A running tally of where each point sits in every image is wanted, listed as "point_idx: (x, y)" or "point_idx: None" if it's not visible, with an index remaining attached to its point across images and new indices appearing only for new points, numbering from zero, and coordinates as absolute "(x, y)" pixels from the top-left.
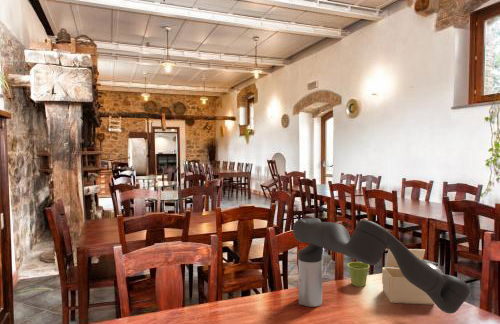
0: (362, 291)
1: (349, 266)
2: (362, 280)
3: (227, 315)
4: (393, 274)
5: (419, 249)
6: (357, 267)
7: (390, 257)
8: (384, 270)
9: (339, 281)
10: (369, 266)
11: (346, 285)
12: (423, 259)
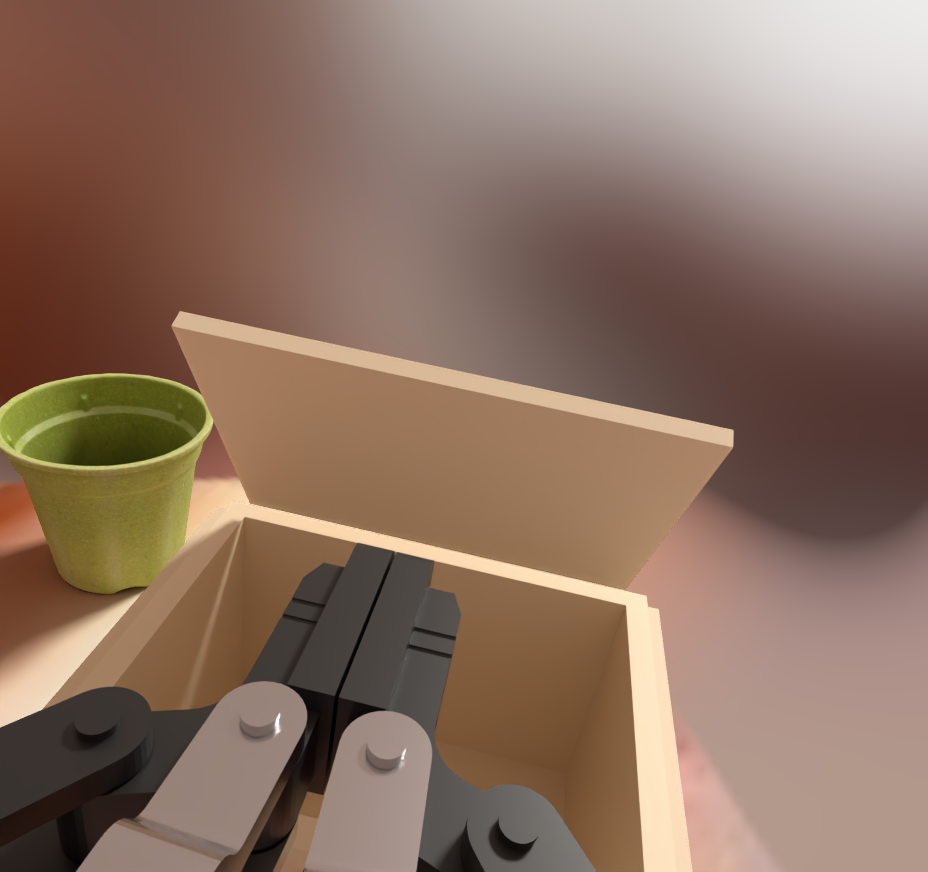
0: (26, 664)
1: (3, 413)
2: (100, 553)
3: None
4: None
5: (646, 415)
6: (158, 423)
7: (252, 432)
8: (173, 560)
9: (21, 496)
10: (187, 447)
11: (4, 552)
12: (512, 814)
